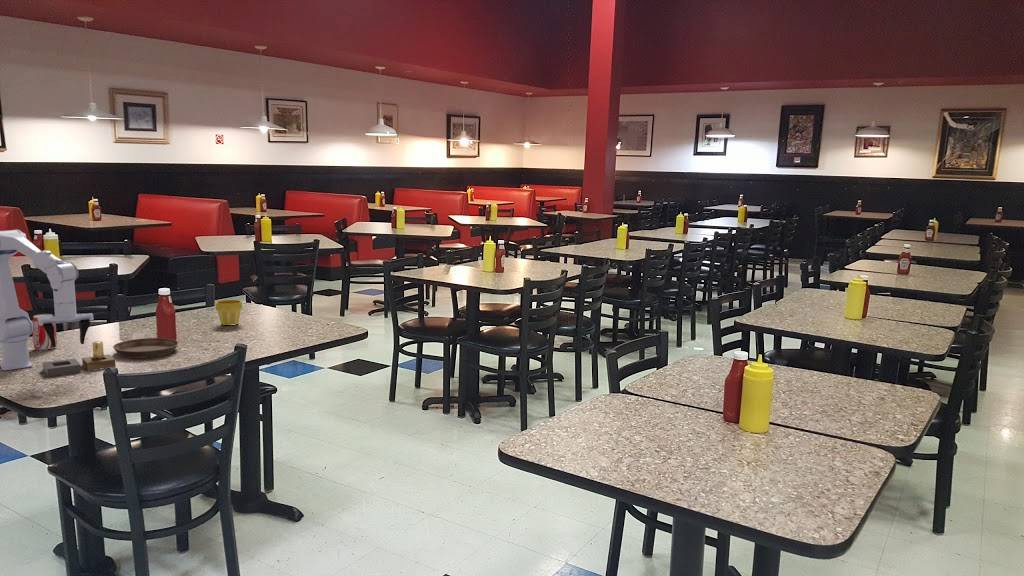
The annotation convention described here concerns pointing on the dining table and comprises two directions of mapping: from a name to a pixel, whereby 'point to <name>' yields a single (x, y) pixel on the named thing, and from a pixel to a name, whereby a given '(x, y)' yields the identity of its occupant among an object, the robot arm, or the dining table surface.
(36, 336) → the soda can
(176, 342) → the plant saucer
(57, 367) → the grey slotted block
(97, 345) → the brass pin
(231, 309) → the plant pot
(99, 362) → the block
